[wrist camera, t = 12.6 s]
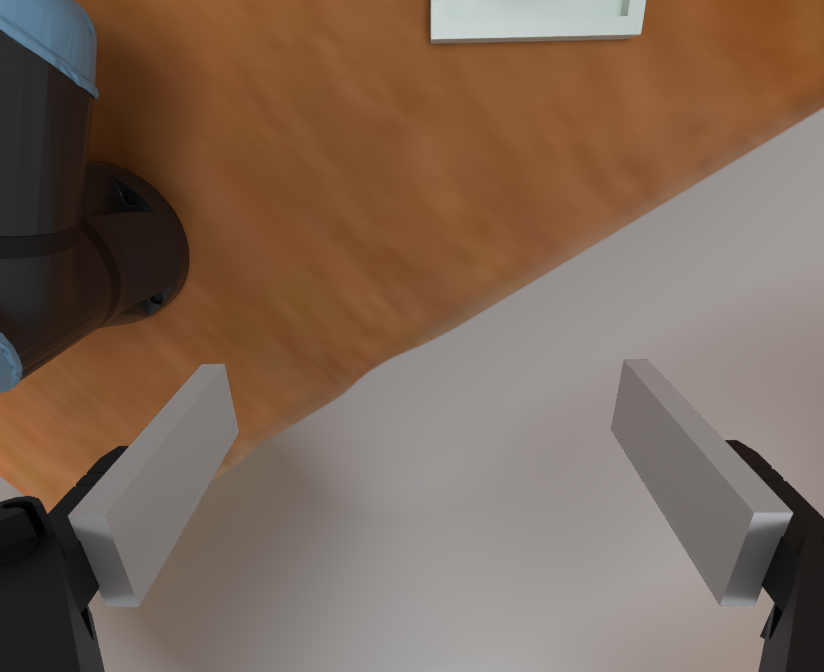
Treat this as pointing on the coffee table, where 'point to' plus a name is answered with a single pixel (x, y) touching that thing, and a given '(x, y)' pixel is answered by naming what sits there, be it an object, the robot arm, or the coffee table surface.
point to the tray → (534, 20)
